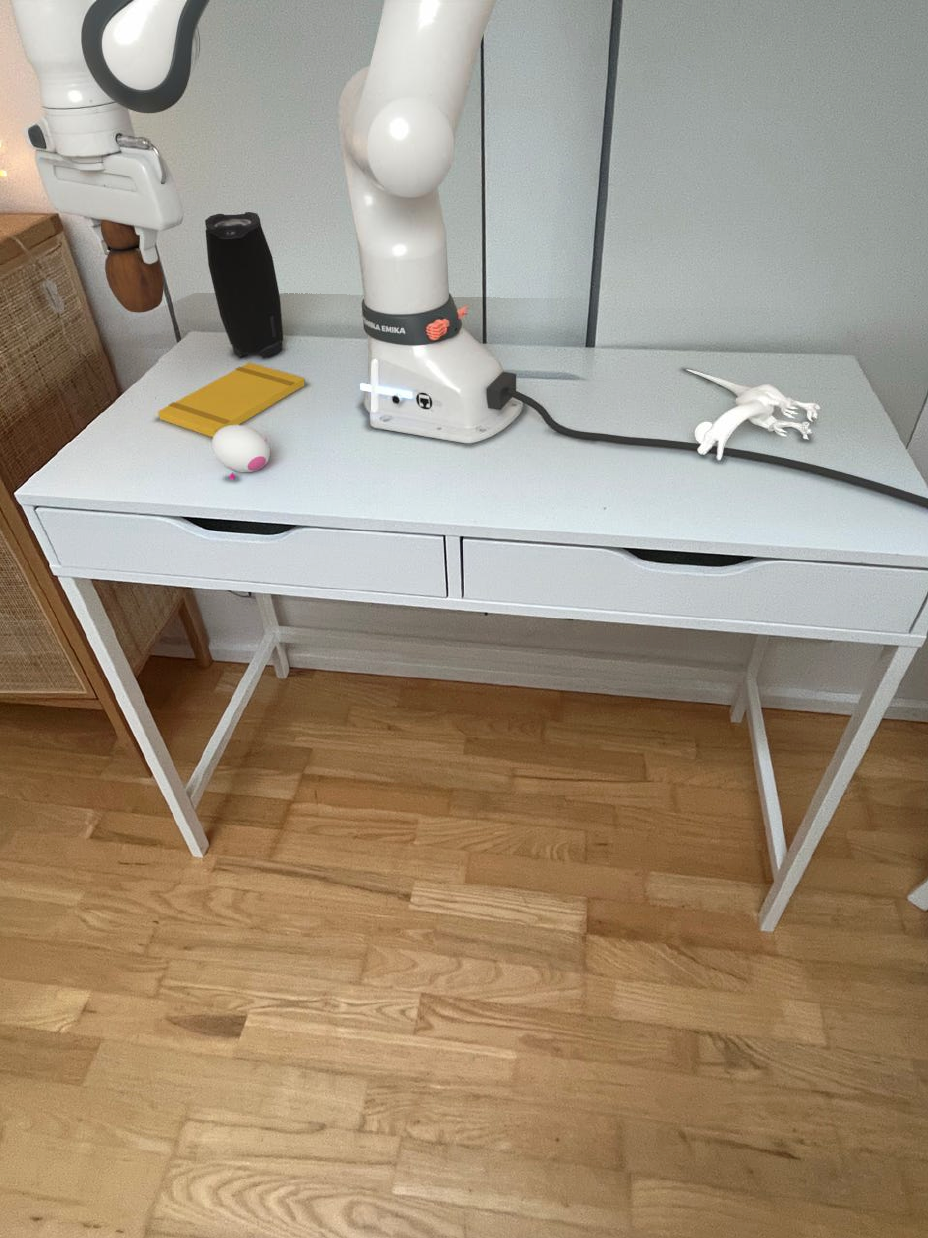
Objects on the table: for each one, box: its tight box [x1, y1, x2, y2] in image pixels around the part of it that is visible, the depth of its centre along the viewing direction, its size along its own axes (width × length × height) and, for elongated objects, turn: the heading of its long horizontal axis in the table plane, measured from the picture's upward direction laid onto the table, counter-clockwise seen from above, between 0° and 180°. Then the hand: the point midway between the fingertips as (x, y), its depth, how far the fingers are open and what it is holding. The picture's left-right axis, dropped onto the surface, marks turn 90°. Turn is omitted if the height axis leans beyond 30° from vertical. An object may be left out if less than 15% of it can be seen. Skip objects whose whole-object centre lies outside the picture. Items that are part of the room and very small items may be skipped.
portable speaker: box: [204, 211, 284, 359], centre depth 125 cm, size 9×9×20 cm
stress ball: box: [211, 424, 271, 481], centre depth 104 cm, size 8×8×7 cm
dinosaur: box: [685, 368, 821, 461], centre depth 110 cm, size 25×9×16 cm
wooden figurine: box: [101, 185, 165, 314], centre depth 102 cm, size 7×6×15 cm
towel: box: [157, 362, 306, 438], centre depth 118 cm, size 11×18×1 cm, turn 147°
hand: (130, 257), depth 103 cm, fingers closed on wooden figurine, 5 cm apart
